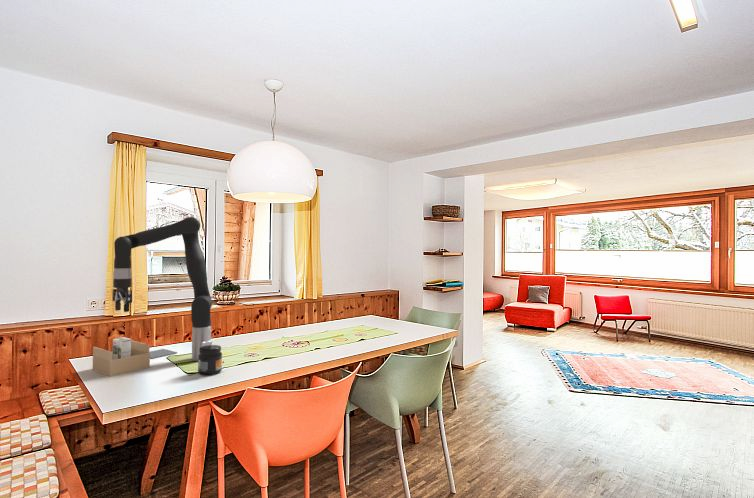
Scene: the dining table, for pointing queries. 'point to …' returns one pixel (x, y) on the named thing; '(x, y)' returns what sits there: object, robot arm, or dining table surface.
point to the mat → (160, 353)
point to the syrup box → (121, 348)
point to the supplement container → (209, 360)
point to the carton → (121, 360)
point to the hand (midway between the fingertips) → (122, 311)
